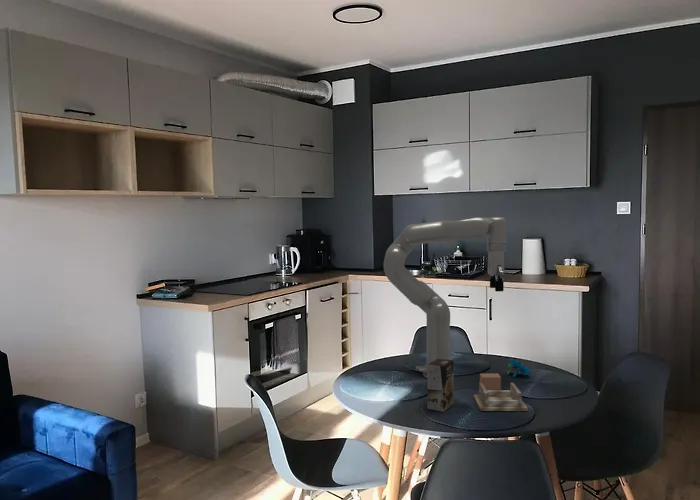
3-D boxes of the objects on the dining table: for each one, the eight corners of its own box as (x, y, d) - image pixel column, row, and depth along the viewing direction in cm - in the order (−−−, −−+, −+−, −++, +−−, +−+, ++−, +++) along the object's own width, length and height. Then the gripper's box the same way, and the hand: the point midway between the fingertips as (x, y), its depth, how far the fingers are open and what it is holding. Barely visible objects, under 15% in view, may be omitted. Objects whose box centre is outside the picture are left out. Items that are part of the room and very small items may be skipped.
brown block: (482, 391, 216) (482, 377, 216) (479, 387, 221) (479, 373, 221) (500, 391, 216) (500, 377, 216) (498, 387, 221) (498, 373, 221)
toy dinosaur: (536, 374, 231) (521, 358, 229) (529, 386, 229) (513, 370, 227) (519, 370, 241) (504, 356, 239) (512, 382, 239) (496, 367, 237)
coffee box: (444, 412, 195) (444, 366, 194) (427, 409, 199) (426, 363, 197) (454, 404, 203) (454, 359, 202) (437, 401, 206) (437, 357, 205)
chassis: (480, 411, 195) (480, 394, 195) (473, 397, 209) (473, 381, 209) (527, 411, 194) (527, 394, 194) (517, 397, 208) (517, 381, 208)
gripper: (482, 246, 239) (483, 286, 241) (491, 249, 222) (491, 292, 223) (500, 246, 239) (500, 286, 240) (511, 249, 222) (511, 292, 223)
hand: (496, 289), depth 232 cm, fingers open, 9 cm apart
